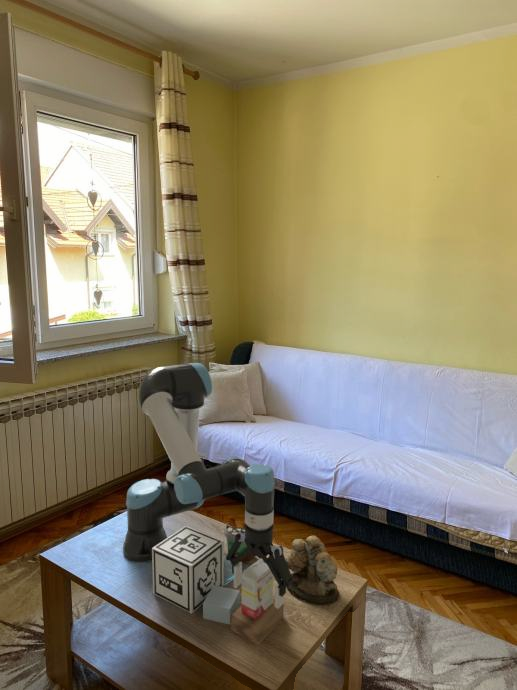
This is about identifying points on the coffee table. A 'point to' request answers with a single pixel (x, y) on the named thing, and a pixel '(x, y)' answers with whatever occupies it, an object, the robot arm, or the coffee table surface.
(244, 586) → the ink box
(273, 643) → the coffee table surface
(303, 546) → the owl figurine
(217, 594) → the slate block
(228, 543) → the food container
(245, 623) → the walnut block
